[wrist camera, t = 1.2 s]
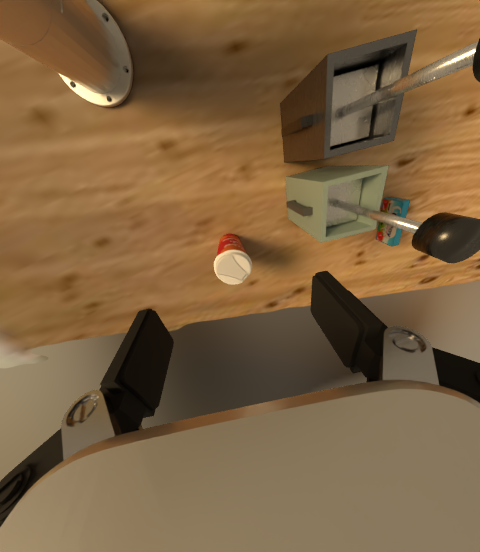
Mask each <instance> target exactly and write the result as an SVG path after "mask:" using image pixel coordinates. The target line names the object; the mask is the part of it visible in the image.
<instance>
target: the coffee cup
mask: <svg viewBox="0 0 480 552" xmlns="http://www.w3.org/2000/svg"><path fill="white" fill-rule="evenodd" d="M251 270H252V262H251V259H250V257H249V256H248V255H247V254H246V252H245V250H244V248H243V245H242V243H241V241H240V239H239V238H238V237H237V236H236V235H234V234H226V235H224V236H223V237H222V238H221V240H220V242H219V247H218V253H217V257H216V259H215V261H214V271H215V273H216V275H217V277H218V278H219V279H220V280H221V281H223V282H224V283H227V284H233V285H234V284H239V283H241V282H243V281H244V280H245V279H246V278H247V277H248V276H249V274H250V273H251Z"/></svg>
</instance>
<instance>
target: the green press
mask: <svg viewBox="0 0 480 552" xmlns="http://www.w3.org/2000/svg"><path fill="white" fill-rule="evenodd" d="M388 167H389V165H383V166H325V167H321V168H317V169H313V170H310V171H306V172H302V173H298V174H294V175H290V176H286V177H285V180H286V195H287V209H288V219H290V220H291V221H292V222H294V223H295V224H296V225H298V226H299V227H300V228H302V229H303V230H304V231H306V232H307V233H309V234H310V235H311V236H313V237H314V238H315V239H317V240H318V241H319V242H321V243H322V242H326V241H330V240H334V239H339V238H343V237H347V236H351V235H355V234H359V233H363V232H367V231H371V230H375V229H376V225H377V221H376V220H373V219H370V218H367V217H364V216H361V215H358V214H357V219H356V220H352V221H348V222H344V223H340V224H336V225H332V226H328V227H326V219H327V199H328V187H329V186H333V185H337V184H341V183H345V182H349V181H352V180H356V179H360V178H363V179H362V186H361V193H360V200H359V206H362V207H366V208H370V209H373V210H377V211H380V206H381V201H382V196H383V191H384V186H385V182H386V177H387V172H388Z"/></svg>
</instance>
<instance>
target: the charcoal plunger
mask: <svg viewBox="0 0 480 552" xmlns="http://www.w3.org/2000/svg"><path fill="white" fill-rule="evenodd" d="M471 65H473V73H474V76H475V78H476V80H477V81H479V82H480V39H479V41H477V42H475V43H473V44H471V45H469V46H467V47H465V48H463V49H461V50H459V51H457V52H455V53H452V54H450V55H448V56H446V57H444V58H442V59H440V60H438V61H436V62H434V63H432V64H430V65H428V66H426V67H424V68H422V69H420V70H418V71H416V72H413V73H411V74H409V75H407V76H405V77H403V78H401V79H399V80H397V81H395V82H393V83H391V84H389V85H387V86H385V87H383V88H381V89H379V90H377V91H375V87H376V80H377V73H378V66H379V65H375V66H371V67H368V68H364V69H360V70H357V71H353V72H349V73H346V74H342V75H339V76H335V77H333V97H332V117H331V138H330V146H334V145H337V144H341V143H345V142H349V141H353V140H356V139H360V138H364V137H368V136H369V130H370V123H371V116H372V109H373V105H375V104H377V103H380V102H382V101H384V100H387V99H389V98H392V97H394V96H397V95H399V94H402V93H404V92H407V91H409V90H412V89H414V88H417V87H419V86H422V85H424V84H427V83H429V82H432V81H434V80H437V79H439V78H442V77H444V76H446V75H449V74H451V73H454V72H456V71H459V70H461V69H464V68H466V67H469V66H471Z"/></svg>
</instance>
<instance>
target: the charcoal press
mask: <svg viewBox="0 0 480 552" xmlns="http://www.w3.org/2000/svg"><path fill="white" fill-rule="evenodd" d="M416 32H417V29H416V30H413V31H409V32H406V33H402V34H398V35H395V36H391V37H388V38H384V39H381V40H377V41H373V42H370V43H366V44H363V45H359V46H356V47H352V48H348V49H345V50H341V51H338V52H334V53H331V54H327V55H326V57H325V58H324V59H323V60H322V61H321V62H320V63H319V64H318V65H317V66H316V67H315V68H314V69H313V70H312V71H311V72H310V73H309V74H308V75H307V76H306V77H305V78H304V79H303V80H302V81H301V83H300V84H299V85H298V86H297V87H296V88H295V89H294V90H293V91H292V92H291V93H290V94H289V95H288V96H287V97H286V98H285V99H284V100H283V101H282V102H281V103H280V108H281V122H282V137H283V151H284V162H293V161H306V160H319V159H326V158H330V157H334V156H338V155H342V154H345V153H349V152H353V151H357V150H361V149H365V148H368V147H372V146H376V145H380V144H384V143H388V142H391V141H394V138H395V133H396V129H397V124H398V119H399V114H400V109H401V104H402V100H403V95H404V93H402V94H399V95H397V96H394V97H392V98H389V99H387V100H384V101H382V102H380V103H377V104H375V105H373V109H372V116H371V123H370V130H369V136H368V137H364V138H360V139H356V140H353V141H349V142H345V143H341V144H337V145H334V146H330V138H331V117H332V97H333V77H335V76H339V75H342V74H346V73H349V72H353V71H357V70H360V69H364V68H368V67H371V66H375V65H379V66H378V73H377V80H376V87H375V91H377V90H379V89H381V88H383V87H385V86H387V85H389V84H391V83H393V82H395V81H397V80H399V79H401V78H403V77H405V76H407V75H408V71H409V66H410V61H411V56H412V51H413V47H414V42H415V37H416Z"/></svg>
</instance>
